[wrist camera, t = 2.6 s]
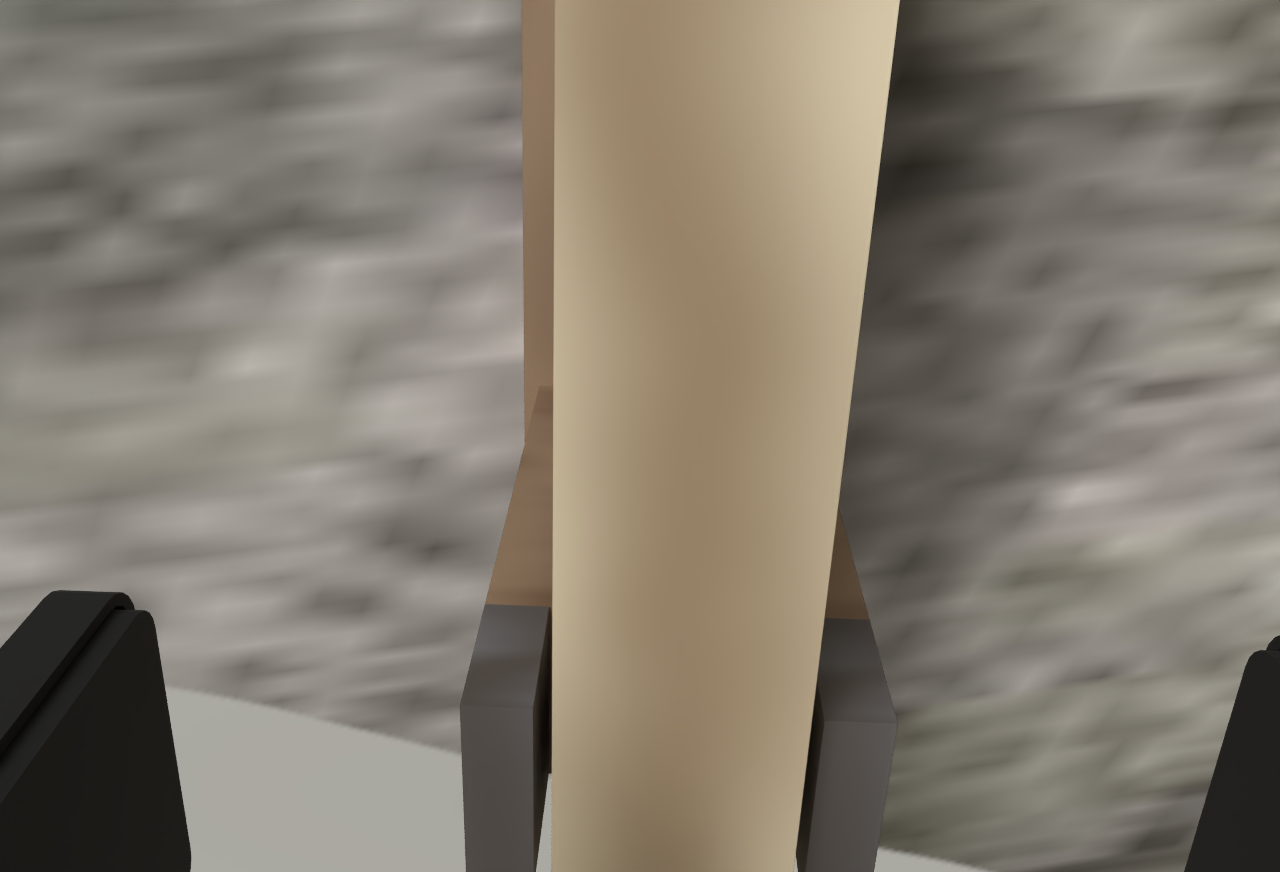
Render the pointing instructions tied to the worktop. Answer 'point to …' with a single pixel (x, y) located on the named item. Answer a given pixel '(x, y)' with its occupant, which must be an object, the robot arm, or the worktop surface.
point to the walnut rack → (523, 584)
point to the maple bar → (701, 410)
